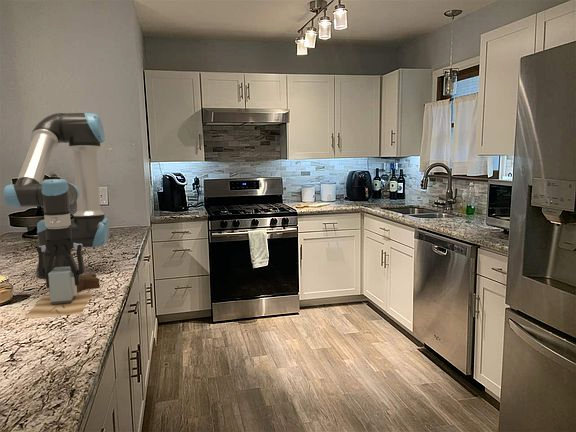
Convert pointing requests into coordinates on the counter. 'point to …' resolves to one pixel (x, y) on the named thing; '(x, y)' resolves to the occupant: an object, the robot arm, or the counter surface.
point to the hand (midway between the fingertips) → (64, 295)
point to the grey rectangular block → (61, 285)
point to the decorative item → (88, 282)
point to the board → (59, 307)
